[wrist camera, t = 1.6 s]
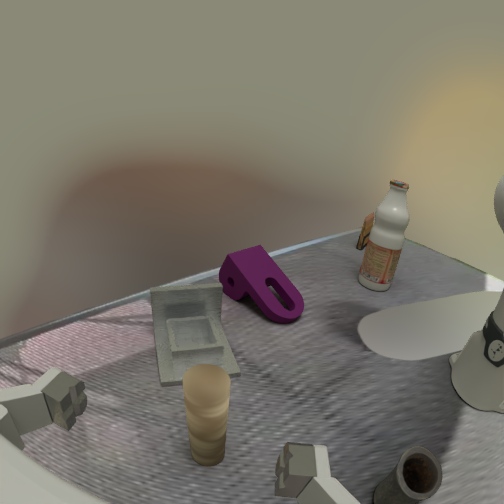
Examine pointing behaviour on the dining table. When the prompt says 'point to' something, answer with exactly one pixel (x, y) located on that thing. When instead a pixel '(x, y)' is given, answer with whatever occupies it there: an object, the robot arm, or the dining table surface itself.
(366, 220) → the ammunition clip
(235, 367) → the cup bracket
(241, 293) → the mounting bracket
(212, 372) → the tan wooden cylinder
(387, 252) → the fruit juice
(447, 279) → the dining table surface
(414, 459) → the pipe
